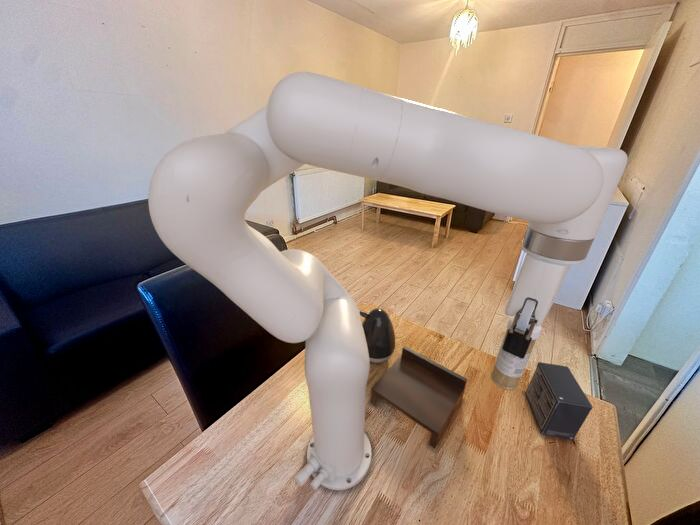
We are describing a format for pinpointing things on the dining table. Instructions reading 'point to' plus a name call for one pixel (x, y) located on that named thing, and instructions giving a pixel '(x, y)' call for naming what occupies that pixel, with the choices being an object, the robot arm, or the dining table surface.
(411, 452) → the dining table surface
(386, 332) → the pump dispenser
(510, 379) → the sprinkles bottle
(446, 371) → the shelf
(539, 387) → the small box
